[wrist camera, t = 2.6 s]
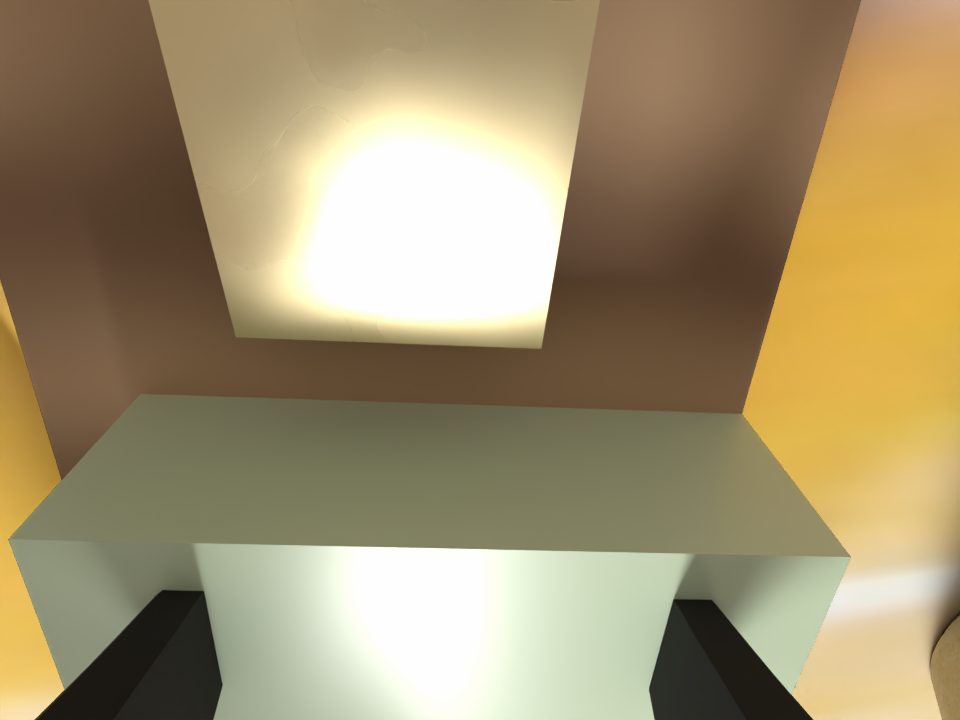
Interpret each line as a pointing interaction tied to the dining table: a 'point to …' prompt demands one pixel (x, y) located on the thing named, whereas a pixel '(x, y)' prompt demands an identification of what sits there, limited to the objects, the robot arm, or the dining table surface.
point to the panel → (417, 367)
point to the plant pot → (947, 672)
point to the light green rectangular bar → (429, 551)
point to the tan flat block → (382, 160)
